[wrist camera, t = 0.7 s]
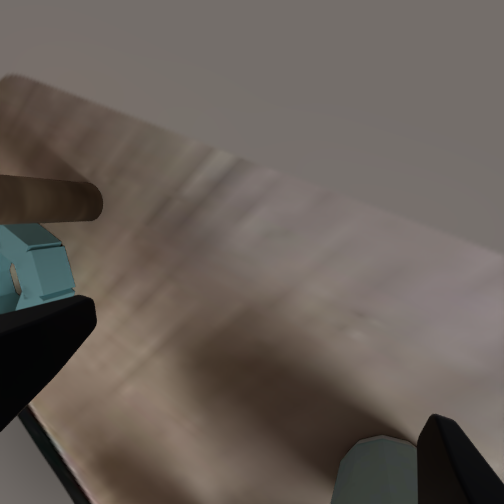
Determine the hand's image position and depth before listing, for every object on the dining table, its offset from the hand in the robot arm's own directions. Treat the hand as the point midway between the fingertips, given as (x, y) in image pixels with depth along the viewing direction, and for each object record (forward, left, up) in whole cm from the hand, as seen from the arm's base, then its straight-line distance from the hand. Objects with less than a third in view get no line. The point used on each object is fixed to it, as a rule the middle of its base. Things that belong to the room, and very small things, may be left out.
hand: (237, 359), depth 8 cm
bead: (-16, +22, -14) cm, 30 cm away
